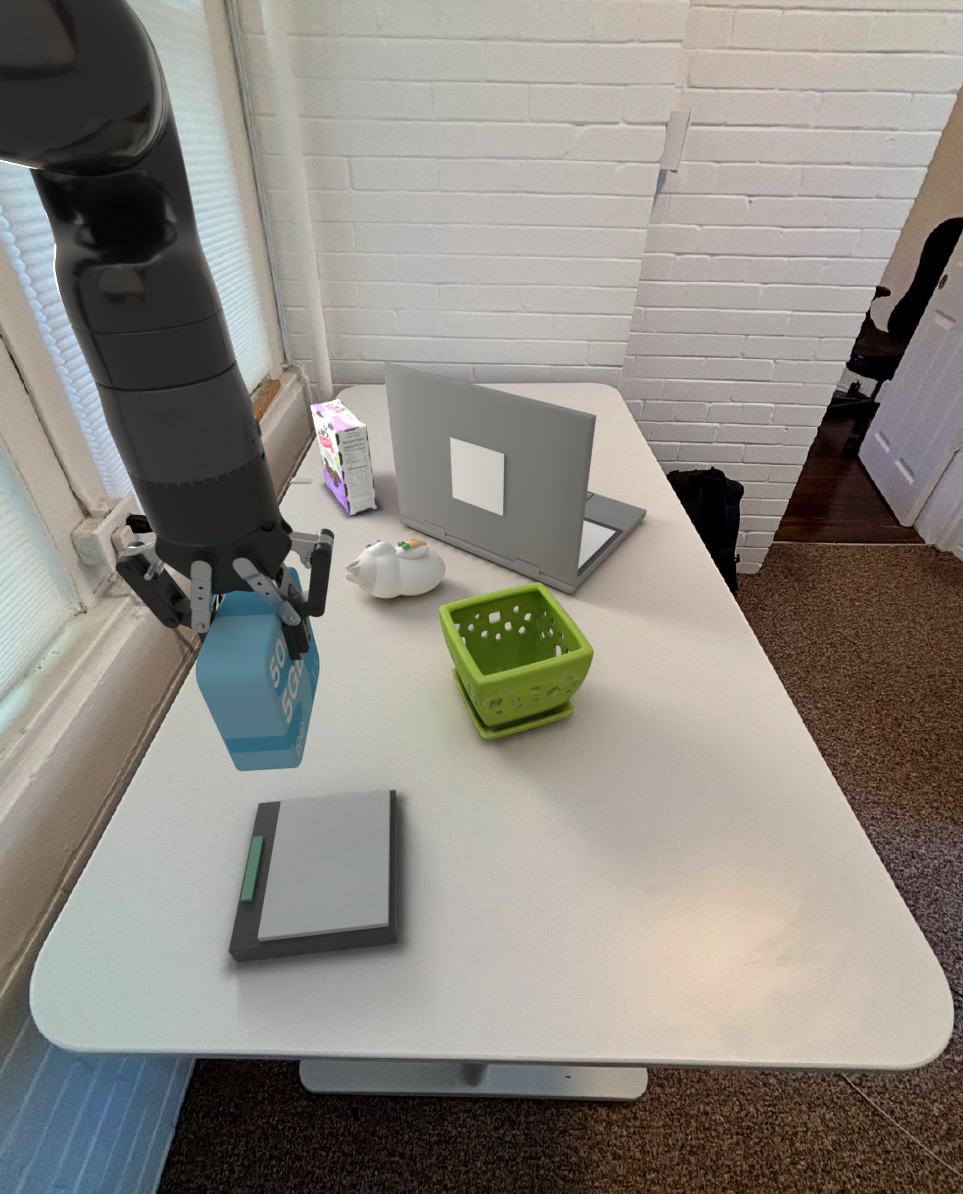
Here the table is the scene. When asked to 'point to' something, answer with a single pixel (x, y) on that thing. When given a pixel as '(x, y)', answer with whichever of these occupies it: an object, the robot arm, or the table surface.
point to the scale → (319, 877)
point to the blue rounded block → (257, 683)
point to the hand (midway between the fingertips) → (264, 654)
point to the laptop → (501, 477)
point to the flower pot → (515, 658)
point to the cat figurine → (396, 569)
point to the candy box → (345, 456)
